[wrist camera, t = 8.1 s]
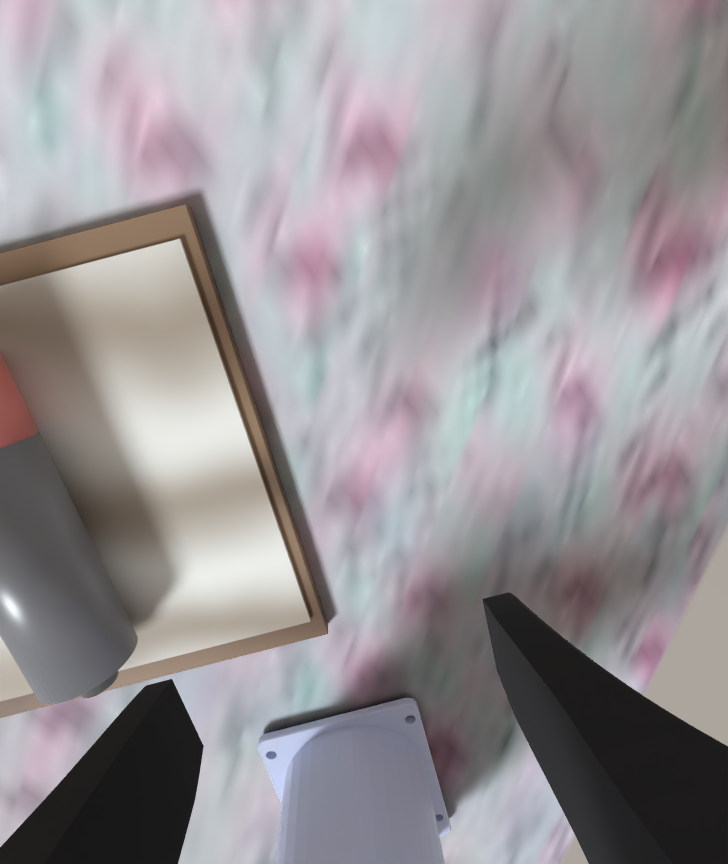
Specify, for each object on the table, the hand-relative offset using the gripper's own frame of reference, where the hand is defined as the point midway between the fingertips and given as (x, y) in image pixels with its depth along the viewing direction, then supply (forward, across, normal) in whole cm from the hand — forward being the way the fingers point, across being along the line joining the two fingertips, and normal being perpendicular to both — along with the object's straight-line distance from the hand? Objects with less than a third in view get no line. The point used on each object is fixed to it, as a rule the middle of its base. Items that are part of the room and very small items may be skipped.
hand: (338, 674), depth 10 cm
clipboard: (+9, +12, -3) cm, 16 cm away
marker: (+8, +12, -3) cm, 15 cm away
